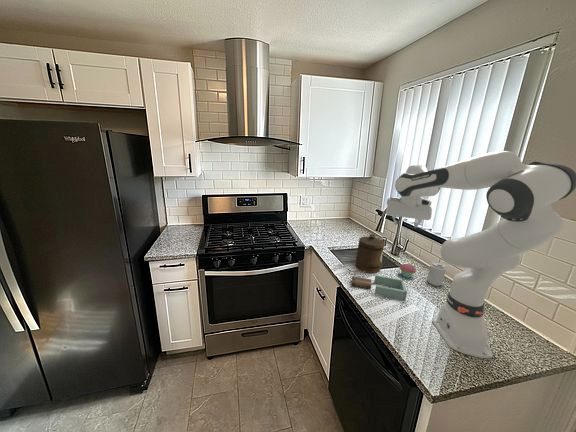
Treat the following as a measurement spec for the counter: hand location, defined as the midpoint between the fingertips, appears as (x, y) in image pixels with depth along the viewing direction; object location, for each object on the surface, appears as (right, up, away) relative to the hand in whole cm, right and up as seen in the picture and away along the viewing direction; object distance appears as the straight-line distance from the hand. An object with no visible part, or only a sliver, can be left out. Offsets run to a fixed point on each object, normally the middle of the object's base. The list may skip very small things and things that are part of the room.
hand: (405, 225), depth 119 cm
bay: (-7, -34, +5) cm, 35 cm away
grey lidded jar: (+23, -33, +14) cm, 43 cm away
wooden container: (-9, -28, +29) cm, 41 cm away
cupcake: (+11, -31, +21) cm, 39 cm away
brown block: (-20, -33, +9) cm, 39 cm away
